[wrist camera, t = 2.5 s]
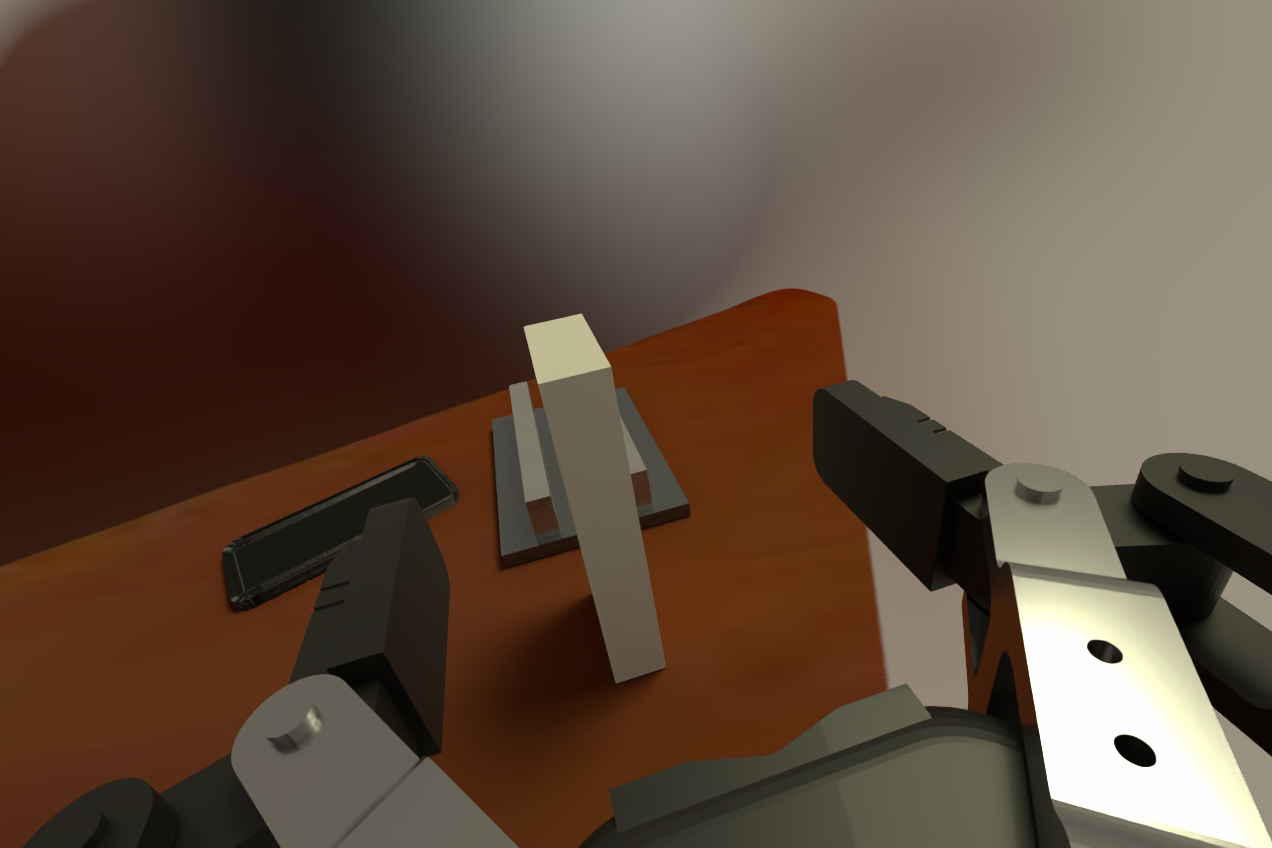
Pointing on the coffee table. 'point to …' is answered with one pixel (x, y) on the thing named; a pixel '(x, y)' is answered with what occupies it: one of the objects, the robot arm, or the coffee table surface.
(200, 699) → the coffee table surface
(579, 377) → the door leaf
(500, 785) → the coffee table surface
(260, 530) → the phone
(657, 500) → the floor track
